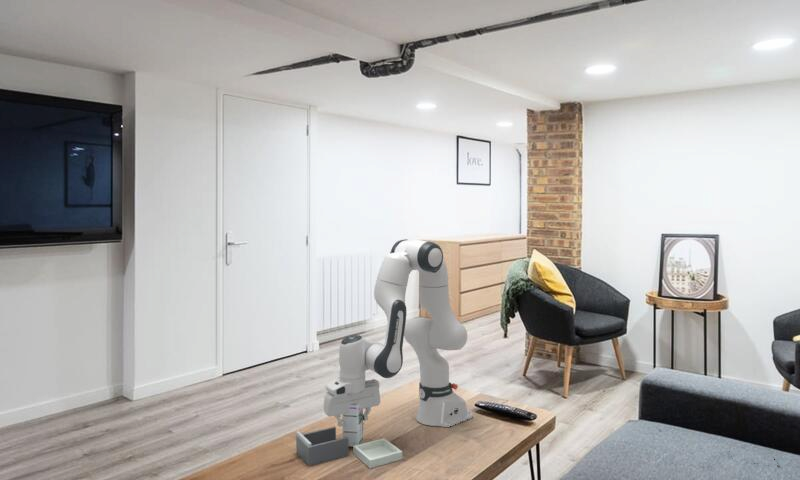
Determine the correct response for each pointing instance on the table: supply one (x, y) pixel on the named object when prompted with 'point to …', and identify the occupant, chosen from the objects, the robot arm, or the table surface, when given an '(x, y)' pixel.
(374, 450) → the tray
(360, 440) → the syrup box
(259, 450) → the table surface
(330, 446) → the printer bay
